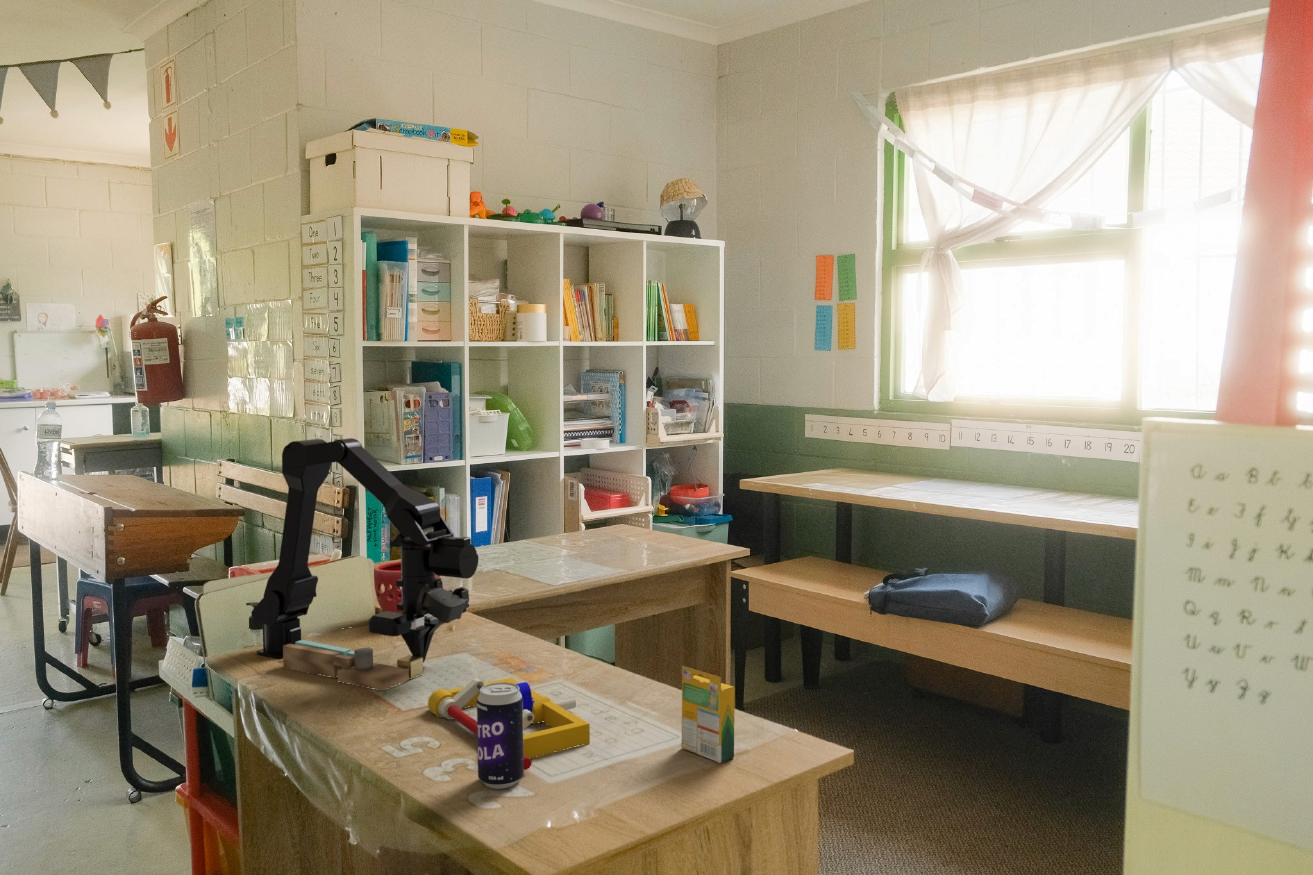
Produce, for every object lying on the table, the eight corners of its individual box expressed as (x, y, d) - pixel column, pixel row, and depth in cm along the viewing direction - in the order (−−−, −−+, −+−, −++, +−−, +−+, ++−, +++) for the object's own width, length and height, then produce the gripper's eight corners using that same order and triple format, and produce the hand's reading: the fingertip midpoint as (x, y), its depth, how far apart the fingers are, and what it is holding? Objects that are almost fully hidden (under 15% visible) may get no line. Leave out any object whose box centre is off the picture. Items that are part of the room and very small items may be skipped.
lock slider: (423, 674, 166) (422, 657, 166) (411, 679, 164) (410, 662, 163) (409, 672, 168) (409, 655, 168) (397, 677, 165) (397, 659, 165)
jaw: (365, 675, 166) (364, 652, 166) (358, 677, 165) (357, 654, 165) (303, 661, 174) (302, 639, 173) (296, 664, 172) (295, 641, 172)
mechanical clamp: (512, 733, 124) (424, 673, 149) (513, 781, 125) (425, 713, 149) (633, 705, 135) (532, 653, 159) (633, 749, 135) (532, 690, 160)
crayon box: (735, 757, 131) (735, 672, 130) (720, 764, 129) (720, 677, 128) (695, 742, 136) (695, 661, 135) (680, 748, 134) (680, 665, 133)
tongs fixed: (408, 680, 163) (408, 651, 163) (383, 691, 158) (382, 660, 158) (304, 661, 174) (304, 633, 174) (277, 670, 169) (276, 641, 169)
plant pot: (452, 616, 205) (451, 560, 204) (419, 632, 193) (417, 572, 192) (397, 612, 209) (396, 556, 208) (361, 627, 197) (360, 568, 196)
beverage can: (478, 773, 126) (476, 682, 125) (522, 770, 127) (521, 680, 126) (478, 792, 120) (476, 697, 119) (524, 789, 121) (523, 694, 120)
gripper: (418, 589, 155) (420, 686, 156) (490, 567, 171) (491, 655, 172) (365, 582, 160) (367, 675, 161) (440, 561, 176) (441, 646, 178)
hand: (420, 663), depth 168 cm, fingers closed
